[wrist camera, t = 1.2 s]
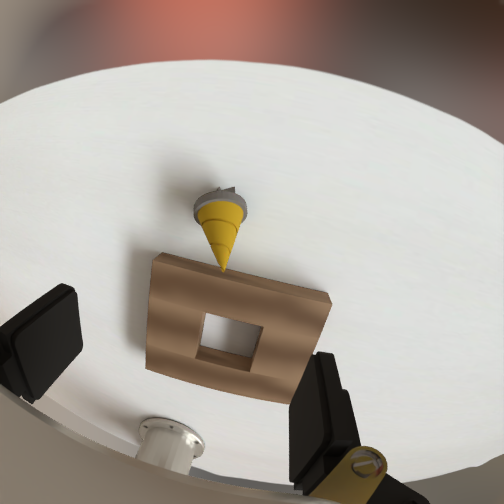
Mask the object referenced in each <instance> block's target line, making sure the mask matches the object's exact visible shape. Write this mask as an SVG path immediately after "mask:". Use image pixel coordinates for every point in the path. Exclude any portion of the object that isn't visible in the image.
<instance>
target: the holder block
mask: <svg viewBox="0 0 504 504" xmlns="http://www.w3.org/2000/svg"><path fill="white" fill-rule="evenodd" d="M331 307H332V302H331V300H330V297H329V295H328V293H325V292H321V291H317V290H312V289H308V288H304V287H299V286H295V285H291V284H287V283H283V282H278V281H274V280H270V279H266V278H262V277H258V276H253V275H249V274H245V273H241V272H237V271H233V270H229V269H225V271H224V272H222V270H221V268H220V267H217V266H213V265H209V264H205V263H201V262H197V261H194V260H190V259H186V258H182V257H178V256H174V255H171V254H167V253H163V252H162V253H161V254H160V255H159V256H157V257H156V258H155V259H153V262H152V271H151V281H150V292H149V304H148V319H147V337H146V367H145V369H148V370H151V371H154V372H157V373H160V374H163V375H166V376H169V377H172V378H175V379H179V380H182V381H185V382H189V383H192V384H196V385H200V386H203V387H207V388H211V389H215V390H219V391H223V392H227V393H232V394H236V395H241V396H245V397H250V398H255V399H260V400H265V401H271V402H277V403H283V404H290V402H291V400H292V398H293V396H294V393H295V391H296V389H297V387H298V384H299V382H300V380H301V378H302V375H303V373H304V371H305V368H306V366H307V363H308V361H309V359H310V356H311V355H312V354H313V351H314V349H315V347H316V344H317V342H318V340H319V337H320V335H321V332H322V330H323V327H324V325H325V322H326V320H327V317H328V314H329V312H330V309H331ZM206 313H210V314H214V315H217V316H221V317H225V318H229V319H233V320H237V321H241V322H246V323H250V324H254V325H258V326H261V329H260V332H259V336H258V339H257V342H256V345H255V349H254V352H253V355H252V358H249V357H244V356H240V355H236V354H232V353H228V352H224V351H220V350H216V349H212V348H208V347H204V346H201V345H200V343H201V337H202V331H203V326H204V320H205V315H206Z"/></svg>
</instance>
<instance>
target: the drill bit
mask: <svg viewBox="0 0 504 504" xmlns="http://www.w3.org/2000/svg"><path fill="white" fill-rule="evenodd" d="M246 217H247V206H246V202H245V200H244V199H243V198H242V197H241V196H240V195H238V194H236V193H235V187H231V188H228V189H224V190H221V189H220V187H219V188H218V190H217V191H214V192H210V193H207V194H205V195H203V196H201V197H200V198H199V199H198V200H197V201H196V202H195V205H194V218H195V220H196V222H197V223H198V224H200V225H201V226H202V228H203V231H204V233H205V235H206V237H207V240H208V242H209V244H210V245H211V248H212V251H213V253H214V255H215V257H216V259H217V262H218V264H219V265H220V266H221V267H220V268H221V270H222V272H224V271H225V268H226V265H227V262H228V259H229V256H230V253H231V250H232V248H233V245H234V242H235V239H236V236H237V233H238V230H239V227H240V224H241V223H242V222H243V221H244V220H245V219H246Z"/></svg>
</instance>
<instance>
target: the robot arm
mask: <svg viewBox="0 0 504 504" xmlns="http://www.w3.org/2000/svg"><path fill="white" fill-rule="evenodd" d="M82 348H83V340H82V333H81V325H80V317H79V308H78V297H77V293H76V292H75V289H74V288H73V287H71V286H69V285H66V284H63V283H61V284H59V285H57V286H56V287H55V288H53V289H52V290H50V291H49V292H47V293H46V294H44V295H43V296H41V297H40V298H39V299H37V300H36V301H34V302H33V303H32V304H30V305H29V306H27V307H26V308H25V309H23V310H22V311H20V312H19V313H18V314H16V315H15V316H14V317H12V318H11V319H10V320H8V321H7V322H6V323H4V324H3V325H2V326H0V504H430V503H429V501H428V500H427V499H426V498H425V497H424V496H422V495H420V494H419V493H417V492H415V491H414V490H412V489H410V488H409V487H407V486H405V485H404V484H402V483H401V482H399V481H398V480H396V479H394V478H393V477H391V476H390V475H388V474H387V473H386V472H387V461H386V458H385V457H384V456H383V454H382V453H381V452H379V451H378V450H377V449H374V448H372V447H368V446H361V443H360V438H359V434H358V429H357V425H356V421H355V417H354V412H353V408H352V404H351V400H350V396H349V393H348V391H347V390H345V389H342V386H341V382H340V378H339V374H338V370H337V366H336V362H335V358H334V355H333V354H332V353H326V352H317V353H316V355H313V354H312V355H311V356H310V359H309V361H308V363H307V366H306V368H305V371H304V373H303V375H302V378H301V380H300V382H299V384H298V387H297V389H296V391H295V393H294V396H293V398H292V400H291V402H290V406H289V481H290V482H293V483H294V490H303V495H298V494H289V493H281V492H274V491H266V490H258V489H252V488H245V487H239V486H233V485H228V484H223V483H218V482H213V481H209V480H205V479H200V478H196V477H192V476H188V474H189V471H190V467H191V464H192V460H193V459H195V458H198V457H200V456H201V455H202V454H203V452H204V448H205V446H204V442H203V440H202V439H201V437H200V436H199V435H198V434H197V433H196V432H194V431H193V430H191V429H190V428H188V427H186V426H184V425H182V424H180V423H177V422H174V421H171V420H167V419H161V418H152V419H147V420H145V421H143V422H142V423H141V425H140V427H139V434H140V437H141V438H142V440H143V441H142V443H141V446H140V448H139V450H138V452H137V455H136V457H135V458H133V457H130V456H127V455H125V454H122V453H120V452H117V451H115V450H113V449H110V448H108V447H106V446H104V445H101V444H99V443H97V442H95V441H93V440H91V439H89V438H87V437H85V436H83V435H81V434H79V433H77V432H75V431H73V430H71V429H69V428H67V427H66V426H64V425H62V424H60V423H58V422H57V421H55V420H53V419H52V418H50V417H48V416H47V415H45V414H43V413H42V412H40V411H38V410H37V409H35V408H34V407H32V406H31V405H29V404H28V403H26V402H25V401H23V400H22V399H20V398H19V397H20V396H21V395H22V397H23V399H25V400H26V401H28V402H29V403H31V404H33V403H34V401H35V400H38V399H40V398H41V397H42V396H43V394H44V393H45V392H46V391H47V390H48V389H49V387H50V386H51V385H52V384H53V383H54V382H55V380H56V379H57V378H58V377H59V376H60V375H61V373H62V372H63V371H64V370H65V369H66V368H67V367H68V365H69V364H70V363H71V362H72V361H73V360H74V359H75V358H76V357H77V355H78V354H79V353H80V352H81V351H82Z"/></svg>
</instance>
